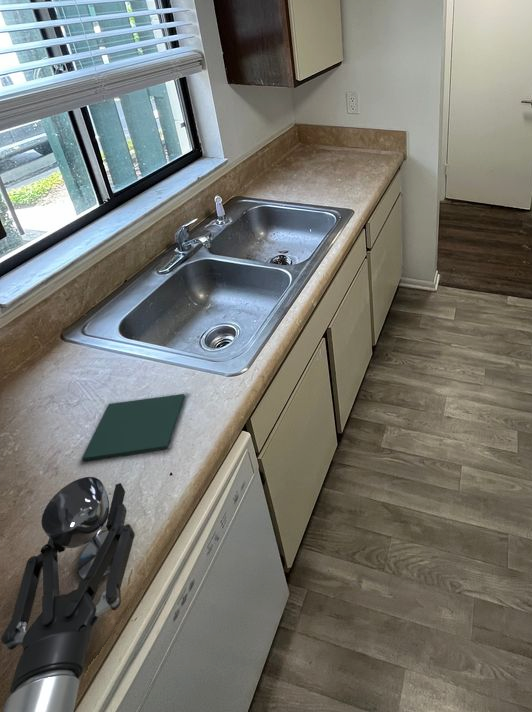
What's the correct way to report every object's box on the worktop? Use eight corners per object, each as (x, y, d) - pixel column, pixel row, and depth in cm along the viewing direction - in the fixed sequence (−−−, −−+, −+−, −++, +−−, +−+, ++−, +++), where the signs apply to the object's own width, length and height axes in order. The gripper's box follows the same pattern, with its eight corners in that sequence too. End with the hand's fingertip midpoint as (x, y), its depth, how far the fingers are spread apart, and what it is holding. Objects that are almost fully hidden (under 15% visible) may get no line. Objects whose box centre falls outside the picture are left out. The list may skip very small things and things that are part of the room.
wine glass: (69, 593, 69) (33, 544, 63) (81, 537, 76) (50, 488, 69) (126, 570, 72) (97, 520, 65) (133, 518, 78) (108, 468, 72)
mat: (83, 461, 87) (81, 458, 87) (110, 406, 98) (108, 403, 98) (167, 448, 90) (166, 445, 89) (185, 396, 100) (184, 393, 100)
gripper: (-37, 736, 54) (37, 528, 73) (139, 662, 59) (164, 488, 79) (-66, 715, 51) (20, 504, 70) (124, 639, 56) (154, 463, 76)
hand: (96, 495), depth 75 cm, fingers closed on wine glass, 6 cm apart
